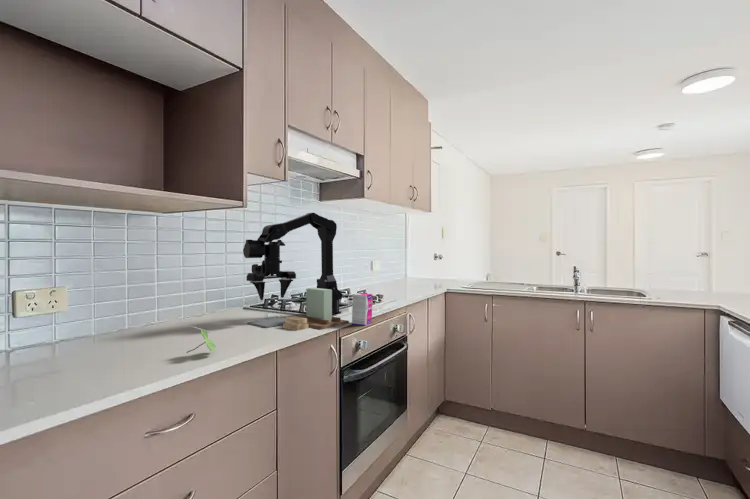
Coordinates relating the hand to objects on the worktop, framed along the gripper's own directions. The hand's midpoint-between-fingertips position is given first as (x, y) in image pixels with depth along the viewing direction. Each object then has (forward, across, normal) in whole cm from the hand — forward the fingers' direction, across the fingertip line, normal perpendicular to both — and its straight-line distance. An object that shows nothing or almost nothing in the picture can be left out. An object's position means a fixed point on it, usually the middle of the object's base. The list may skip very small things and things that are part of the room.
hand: (272, 298), depth 146 cm
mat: (+9, 0, 0) cm, 9 cm away
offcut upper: (+8, 0, +14) cm, 16 cm away
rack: (+9, -11, +14) cm, 20 cm away
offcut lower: (+10, 0, +14) cm, 17 cm away
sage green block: (+8, -11, +14) cm, 20 cm away
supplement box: (+9, -20, +28) cm, 36 cm away
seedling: (+10, +40, +18) cm, 45 cm away
